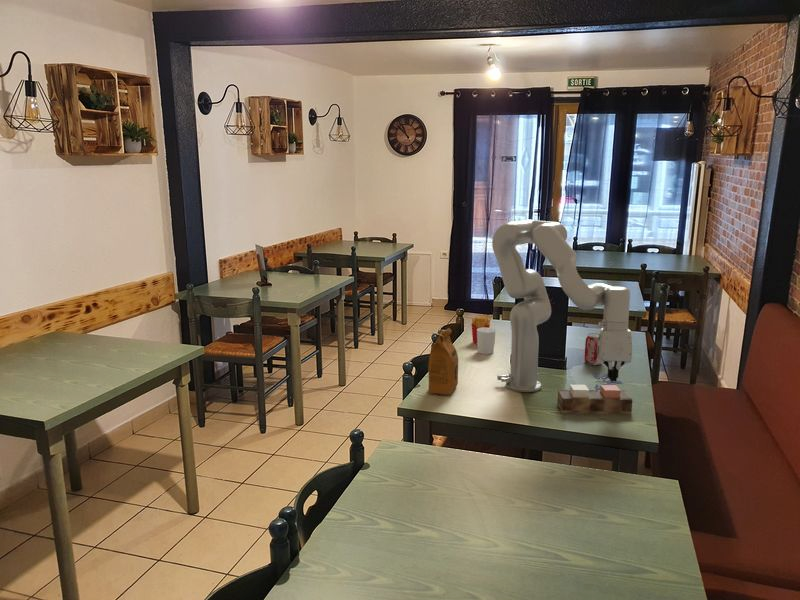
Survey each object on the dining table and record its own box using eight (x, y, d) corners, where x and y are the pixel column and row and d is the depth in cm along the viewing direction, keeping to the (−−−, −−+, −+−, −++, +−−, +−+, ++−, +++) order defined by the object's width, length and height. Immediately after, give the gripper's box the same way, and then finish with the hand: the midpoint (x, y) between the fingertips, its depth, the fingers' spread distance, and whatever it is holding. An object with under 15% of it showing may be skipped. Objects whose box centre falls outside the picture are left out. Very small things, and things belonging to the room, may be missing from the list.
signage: (592, 372, 233) (620, 374, 231) (592, 374, 234) (620, 376, 231) (596, 399, 207) (627, 402, 204) (596, 401, 207) (627, 404, 204)
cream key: (572, 401, 197) (573, 389, 196) (569, 395, 202) (570, 384, 201) (588, 401, 197) (589, 390, 196) (584, 395, 201) (585, 384, 201)
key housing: (562, 413, 196) (563, 398, 195) (557, 403, 204) (558, 389, 203) (631, 414, 195) (632, 399, 194) (623, 404, 203) (624, 390, 202)
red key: (604, 401, 196) (604, 390, 195) (599, 395, 201) (600, 384, 200) (619, 401, 196) (620, 390, 195) (615, 396, 201) (616, 385, 200)
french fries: (470, 343, 274) (471, 317, 271) (472, 340, 277) (472, 315, 275) (489, 344, 271) (489, 318, 269) (490, 342, 275) (491, 316, 272)
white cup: (473, 350, 263) (473, 328, 261) (490, 348, 265) (490, 326, 263) (481, 355, 256) (481, 332, 254) (498, 354, 258) (498, 331, 256)
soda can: (604, 366, 241) (606, 337, 239) (586, 366, 242) (588, 337, 239) (599, 361, 248) (601, 332, 246) (581, 360, 248) (583, 332, 246)
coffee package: (462, 386, 220) (463, 328, 215) (450, 398, 209) (451, 337, 204) (436, 382, 224) (437, 325, 219) (424, 394, 213) (424, 334, 208)
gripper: (594, 328, 190) (592, 384, 194) (643, 328, 189) (639, 384, 193) (588, 322, 197) (586, 376, 201) (635, 322, 196) (632, 376, 200)
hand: (612, 379), depth 197 cm, fingers closed
